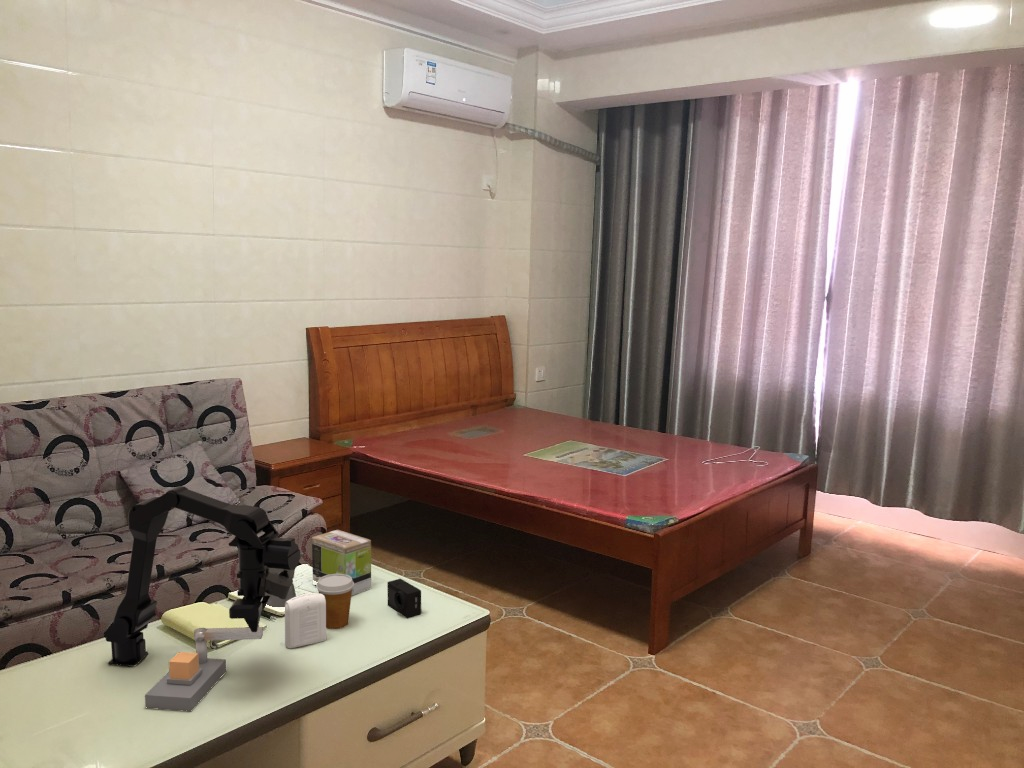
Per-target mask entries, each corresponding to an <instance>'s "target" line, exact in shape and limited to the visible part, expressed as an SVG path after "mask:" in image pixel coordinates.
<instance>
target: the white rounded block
mask: <svg viewBox="0 0 1024 768" xmlns="http://www.w3.org/2000/svg"><path fill="white" fill-rule="evenodd" d="M326 639H327V628H326V600H325V596H324V595H323V594H320V593H319V592H310V593H304V594H299V595H296V597H294V598H292V599H290V600H288V601H286V602H285V615H284V642H285V643H284V646H285V647H286V648H288V649H294V648H299V647H303V646H308V645H311V644H316V643H320V642H323V641H326Z"/></svg>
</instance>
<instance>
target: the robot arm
mask: <svg viewBox="0 0 1024 768" xmlns="http://www.w3.org/2000/svg"><path fill="white" fill-rule="evenodd" d="M173 509H178V510H180V511H183V512H186V513H189V514H191V515H194V516H197V517H199V518H202V519H205V520H207V521H211V522H213V523H216V524H219V525H221V526H223V528H225V530H226V531H227V533H230V534H231V535H233V536H234V538H233V539H232V540H231V541H229V543H228V546H229V547H234V548H235V547H236V548H237V551H238V553H237V555H238V571H237V572H236V579H239V588H238V590H237V596H238V597H242V598H236V599H235V600H234V601H233V602H232V604H231V605H230V607H229V610H228V615H229V616H228V617H229V619H233V620H234V619H238V620H239V619H243V620H244V621H245V622H246V625H247V627H249V628H250V630H251V631H252V632H257V630H258V627H260V626H259V625H260V620H261V615H262V611H263V609H264V608H265V606H266V604H267V602H268V600H269V598H270V596H265V595H266V593H268V594H270V595H273V596H276V597H279V598H280V599H286V598H287V596H288V594H289V591H290V588H291V586H292V583H293V584H294V578H292V577H291V578H290V571H289V570H294V569H295V570H296V568H297V567H298V564H299V562H300V560H301V558H300V552H301V550H300V548H299V545H298V544H297V543H296V539H295V538H294V537H278V536H279V535H280V533H279V531H278V530H277V529H276V527H275V526H274V524H272V522H271V520H270V519H269V517H268V516H269V515H268V514H267V512H266V510H265V509H263V508H262V507H258V506H252V505H249V504H248V505H247V504H244V505H243V504H242V505H240V504H239V505H238V504H237V505H236V504H230V503H227V502H225V501H222V500H219V499H216V498H213V497H210V496H207V495H205V494H202V493H200V492H196V491H194V490H191V489H189V488H188V487H186V486H184V485H183V486H182V485H179V486H176V487H174V488H172V489H170V490H167V491H166V492H165V493H164V494H163V495H161V496H153V497H150V498H147V499H146V500H143V501H141V502H139V503H137V504H135V505H133V506H132V507H130V509H129V511H128V517H127V518H128V530H129V531H130V534H131V536H132V538H133V539H132V540H133V541H132V548H131V553H130V560H129V568H128V576H127V583H126V591H125V595H124V597H123V598H122V600H121V602H120V603H119V605H118V607H117V608H116V612H115V614H114V618H113V623H112V624H111V625H110V626H109V627H108V628H107V629H106V630H105V631H104V632H103V636H104V639H105V641H106V642H109V643H110V645H111V660H109V661H108V662H107V665H109V666H121V667H123V666H124V667H135V666H136V665H138V664H139V663H140V662H141V661H142V660H144V658H146V657H147V656H148V655H149V651H147V646H146V643H147V642H146V639H145V637H144V632H143V631H144V630H146V629H148V625H149V623H150V622H152V620H153V618H155V617H157V616H156V609H157V604H158V601H157V600H153V599H152V597H151V595H150V587H151V586H150V585H151V579H152V573H153V572H152V571H153V566H154V560H155V559H154V558H155V552H156V545H157V539H158V537H159V535H160V533H161V532H162V530H163V528H164V526H165V525H166V522H167V518H168V516H169V513H170V511H172V510H173ZM262 532H263V534H261V535H260V536H258V535H259V534H260V533H262ZM299 559H300V560H299ZM269 568H277V569H283V570H281V571H280V572H279V573H278V574H277V573H275V574H273V573H270V572H269ZM292 579H293V580H292Z"/></svg>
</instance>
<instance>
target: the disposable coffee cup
mask: <svg viewBox="0 0 1024 768" xmlns="http://www.w3.org/2000/svg"><path fill="white" fill-rule="evenodd" d="M353 586H354V582H353V580H352V578H351V577H350V576H348V575H345V574H330V575H326V576H323V577H321V578H320V579H319V580H318V583H317V585H316V586H315V588H316V589H317V593H320V594H323V595H324V596H325V600H326V629H330V630H340V629H344V628H346V627H347V626H348V624H349V619H350V611H351V610H350V609H351V602H352V596H351V595H352V588H353Z"/></svg>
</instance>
